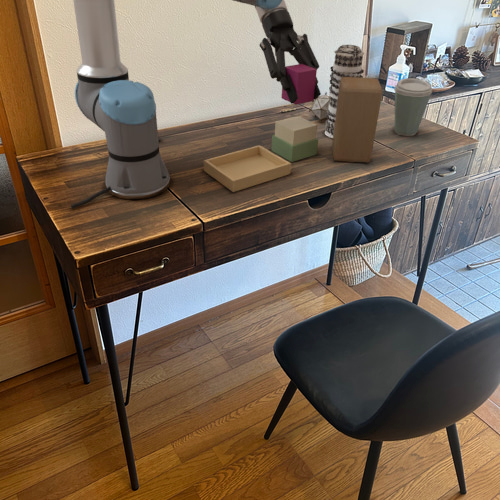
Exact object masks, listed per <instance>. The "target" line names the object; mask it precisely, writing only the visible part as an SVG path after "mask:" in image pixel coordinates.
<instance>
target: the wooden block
mask: <svg viewBox="0 0 500 500" xmlns="http://www.w3.org/2000/svg"><path fill="white" fill-rule="evenodd" d="M382 97H383V88H382V85H381V83H380V81H379V79H378V78H375V77H363V78H358V77H343V78H341V80H340V85H339V93H338V101H337V109H336V118H335V126H334V134H333V138H332V142H331V143H332V144H331V149H332V158H333V160H334V161H336V162H350V163H352V162H353V163H366V164H367V163H370V161H371V160H372V155H373V154H372V153H373V149H374V144H375V143H374V142H375V138H376V133H377V125H378V120H379V114H380V109H381V104H382Z"/></svg>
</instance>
